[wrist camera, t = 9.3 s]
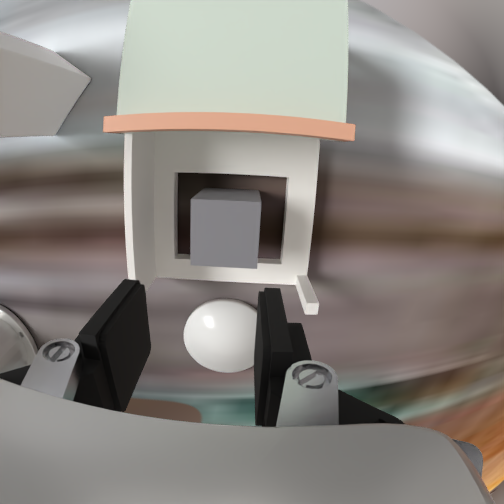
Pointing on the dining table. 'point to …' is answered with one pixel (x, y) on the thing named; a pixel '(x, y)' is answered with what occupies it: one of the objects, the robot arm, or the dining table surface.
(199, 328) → the white flat disc
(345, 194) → the dining table surface
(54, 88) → the milk carton
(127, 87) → the cover
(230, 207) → the block
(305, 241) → the frame with rectangular opening
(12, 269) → the dining table surface
